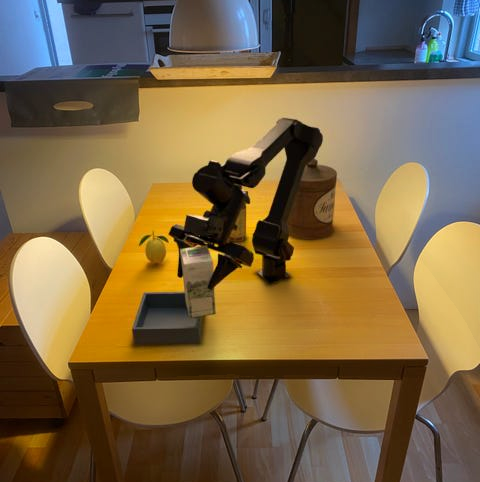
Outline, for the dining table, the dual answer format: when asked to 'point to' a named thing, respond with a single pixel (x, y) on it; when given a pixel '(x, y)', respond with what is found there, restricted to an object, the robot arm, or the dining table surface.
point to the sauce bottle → (239, 225)
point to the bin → (165, 320)
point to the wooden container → (313, 203)
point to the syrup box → (198, 281)
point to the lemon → (155, 248)
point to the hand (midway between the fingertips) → (193, 283)
